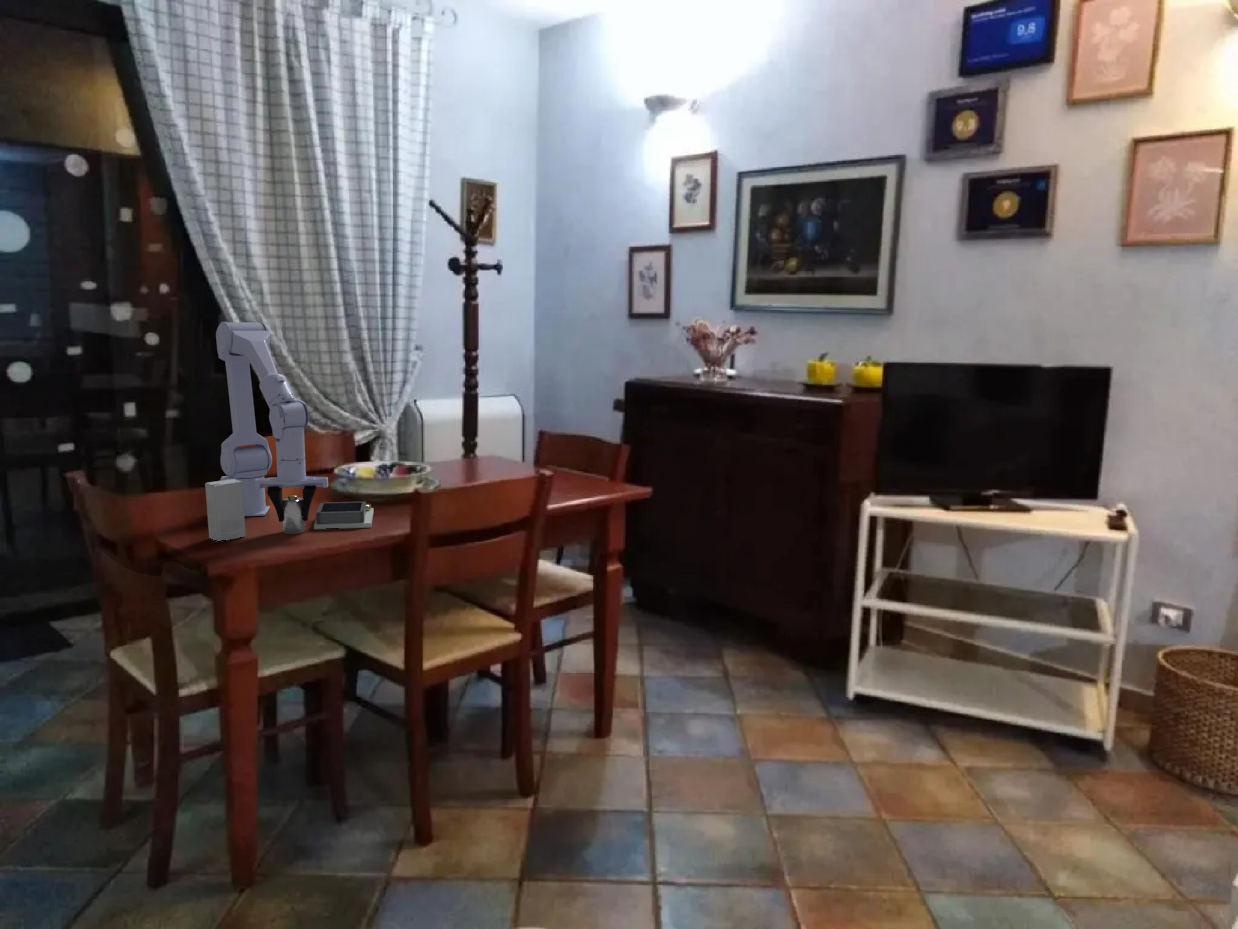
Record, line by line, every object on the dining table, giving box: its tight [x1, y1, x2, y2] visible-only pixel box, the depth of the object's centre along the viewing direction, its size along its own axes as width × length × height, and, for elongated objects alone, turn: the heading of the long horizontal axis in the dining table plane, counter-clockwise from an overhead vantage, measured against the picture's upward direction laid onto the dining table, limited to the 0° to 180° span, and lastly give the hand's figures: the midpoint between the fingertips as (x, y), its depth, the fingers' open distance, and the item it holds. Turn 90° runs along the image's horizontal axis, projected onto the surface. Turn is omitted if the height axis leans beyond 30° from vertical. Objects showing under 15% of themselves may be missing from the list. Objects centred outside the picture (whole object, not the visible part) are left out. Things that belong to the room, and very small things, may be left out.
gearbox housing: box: [313, 501, 374, 530], centre depth 196 cm, size 12×14×4 cm
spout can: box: [282, 494, 306, 535], centre depth 187 cm, size 4×6×8 cm
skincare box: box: [204, 479, 247, 542], centre depth 179 cm, size 6×4×12 cm
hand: (293, 520), depth 186 cm, fingers closed on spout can, 4 cm apart
